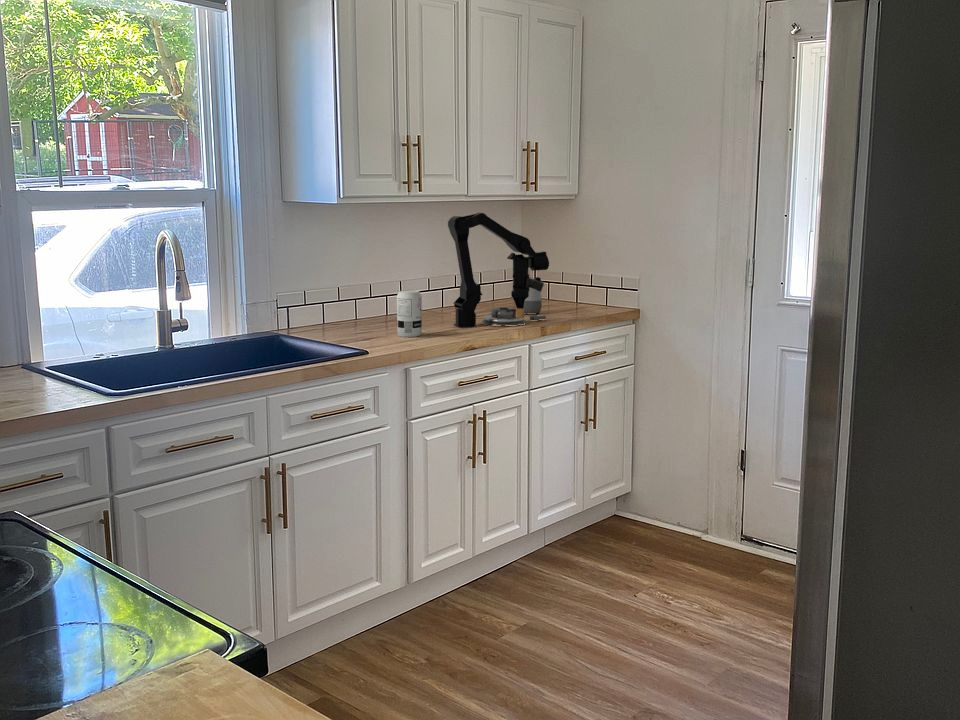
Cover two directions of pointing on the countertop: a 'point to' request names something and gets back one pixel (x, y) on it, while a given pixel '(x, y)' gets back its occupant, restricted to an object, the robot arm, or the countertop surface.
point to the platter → (512, 320)
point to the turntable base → (502, 323)
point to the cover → (503, 312)
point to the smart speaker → (533, 302)
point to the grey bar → (537, 317)
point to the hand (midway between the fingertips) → (520, 313)
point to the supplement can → (409, 313)
